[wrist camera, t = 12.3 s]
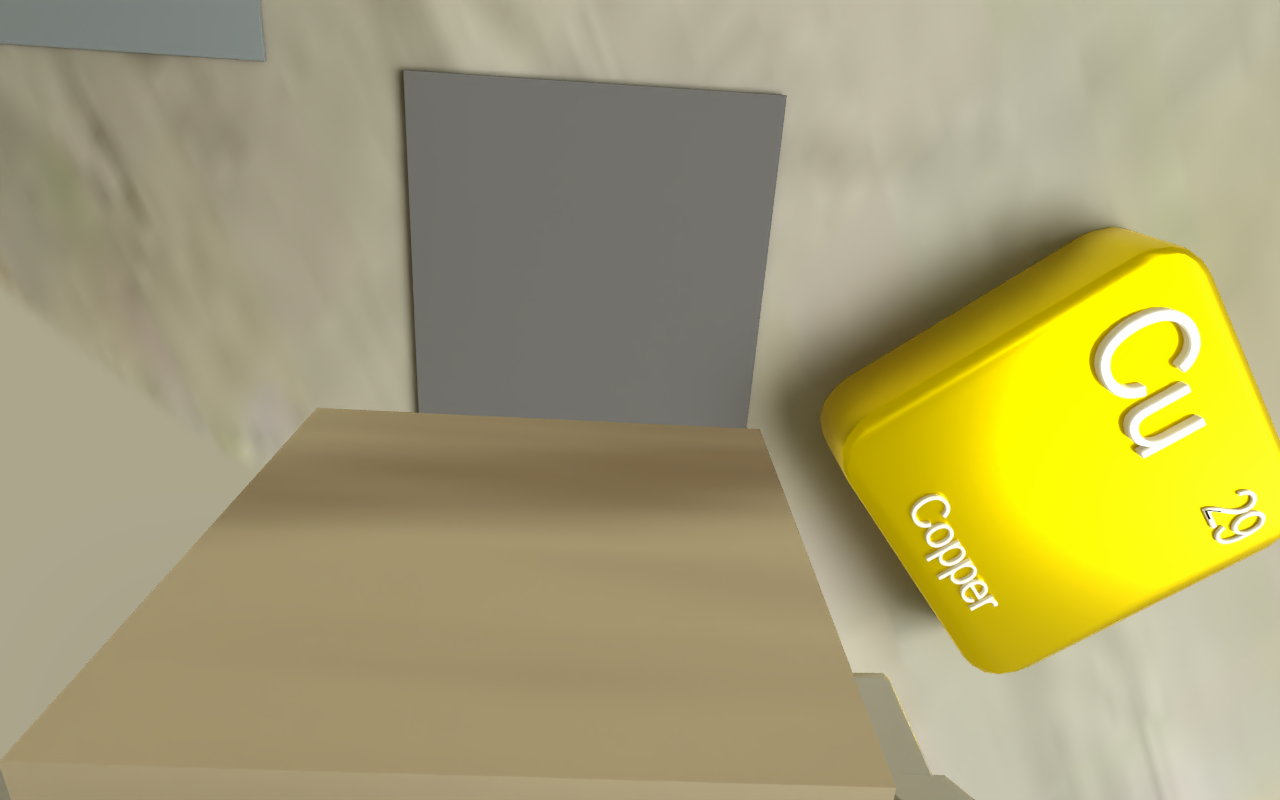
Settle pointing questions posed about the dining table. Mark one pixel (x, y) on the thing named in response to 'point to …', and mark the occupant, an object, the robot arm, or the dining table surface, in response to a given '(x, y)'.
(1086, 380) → the element tile
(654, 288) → the pad
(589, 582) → the light wood cube
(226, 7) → the grey flat slab
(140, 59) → the dining table surface
